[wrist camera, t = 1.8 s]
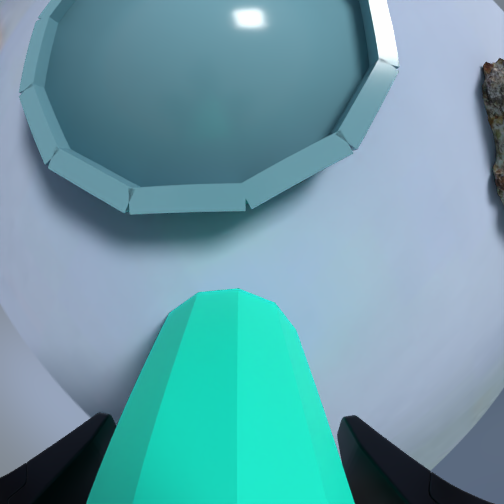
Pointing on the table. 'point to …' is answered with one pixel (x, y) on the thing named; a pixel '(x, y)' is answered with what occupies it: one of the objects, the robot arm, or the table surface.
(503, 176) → the mineral rock
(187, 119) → the dish
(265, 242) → the table surface
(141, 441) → the candle
